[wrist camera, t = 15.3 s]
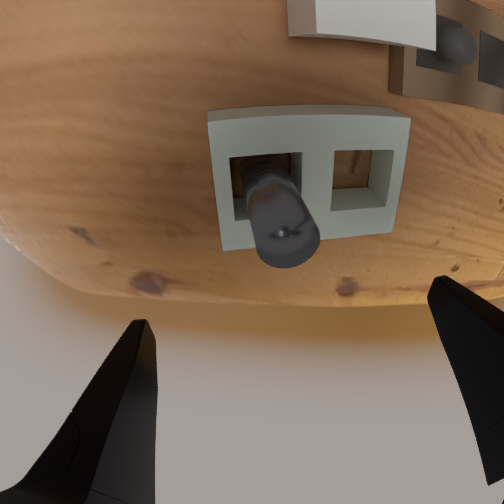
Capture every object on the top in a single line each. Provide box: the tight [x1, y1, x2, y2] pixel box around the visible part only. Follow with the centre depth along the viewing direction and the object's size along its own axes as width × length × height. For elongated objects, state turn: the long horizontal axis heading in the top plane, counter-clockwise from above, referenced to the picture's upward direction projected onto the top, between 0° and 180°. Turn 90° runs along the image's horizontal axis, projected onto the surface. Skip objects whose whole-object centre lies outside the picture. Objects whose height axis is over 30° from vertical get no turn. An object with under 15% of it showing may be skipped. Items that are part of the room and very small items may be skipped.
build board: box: [207, 104, 411, 251], centre depth 16 cm, size 10×7×2 cm
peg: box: [239, 154, 320, 268], centre depth 14 cm, size 2×2×7 cm
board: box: [389, 0, 504, 114], centre depth 11 cm, size 10×7×4 cm
